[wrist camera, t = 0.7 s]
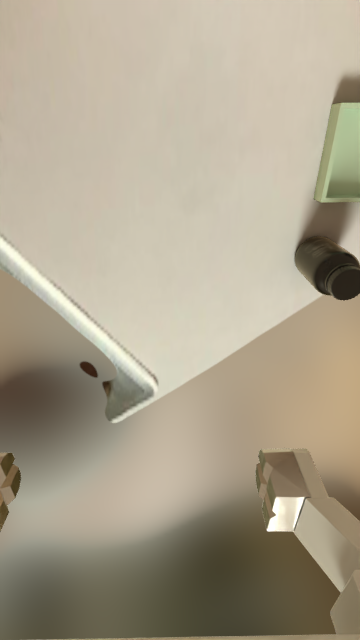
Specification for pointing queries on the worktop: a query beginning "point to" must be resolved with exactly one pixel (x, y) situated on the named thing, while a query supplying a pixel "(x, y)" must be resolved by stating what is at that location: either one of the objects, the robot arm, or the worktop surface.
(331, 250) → the supplement bottle
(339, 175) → the tray
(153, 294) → the worktop surface
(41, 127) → the worktop surface
